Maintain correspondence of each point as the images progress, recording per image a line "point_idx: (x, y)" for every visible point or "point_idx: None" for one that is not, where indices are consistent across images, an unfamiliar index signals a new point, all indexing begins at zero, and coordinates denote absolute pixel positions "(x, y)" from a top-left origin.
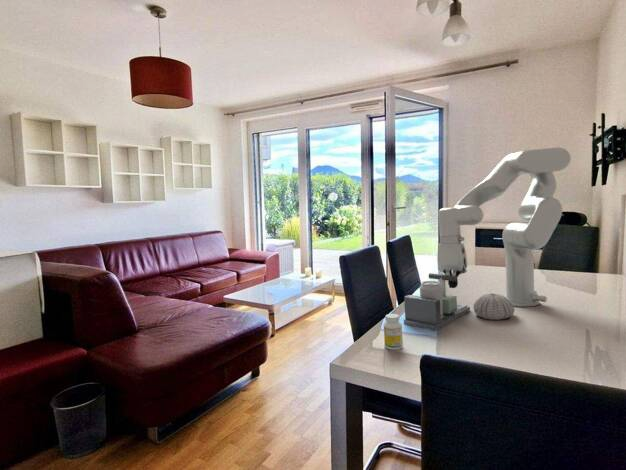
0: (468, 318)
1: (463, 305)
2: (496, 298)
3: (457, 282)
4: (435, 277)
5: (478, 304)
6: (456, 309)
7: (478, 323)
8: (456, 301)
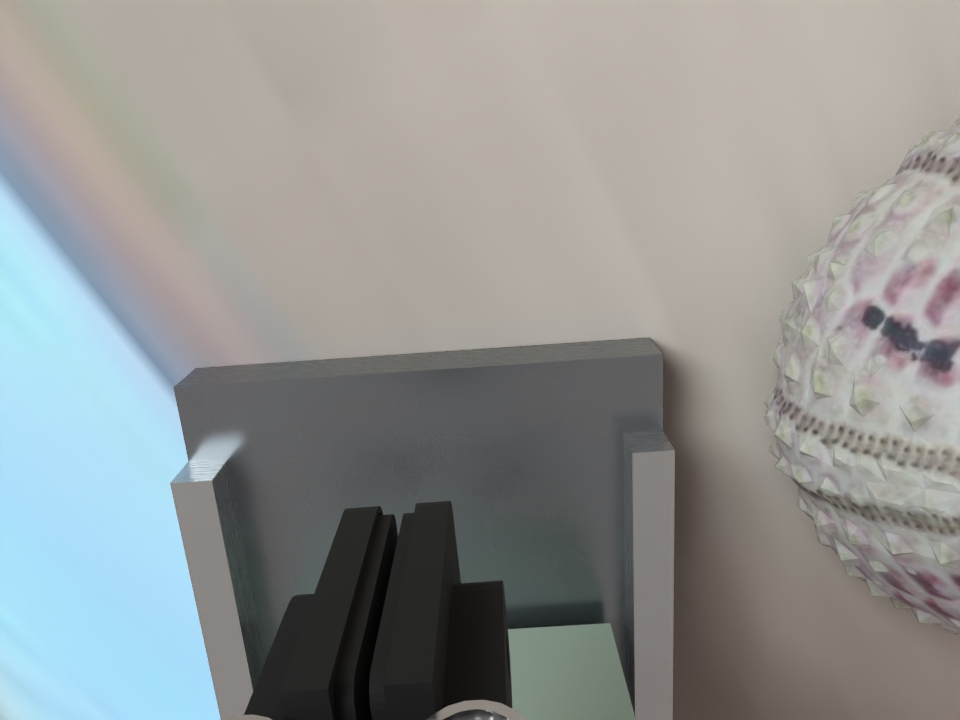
0: (761, 608)
1: (637, 501)
2: None
3: (502, 616)
4: None
5: (950, 614)
6: (645, 701)
7: (915, 684)
8: (632, 716)
